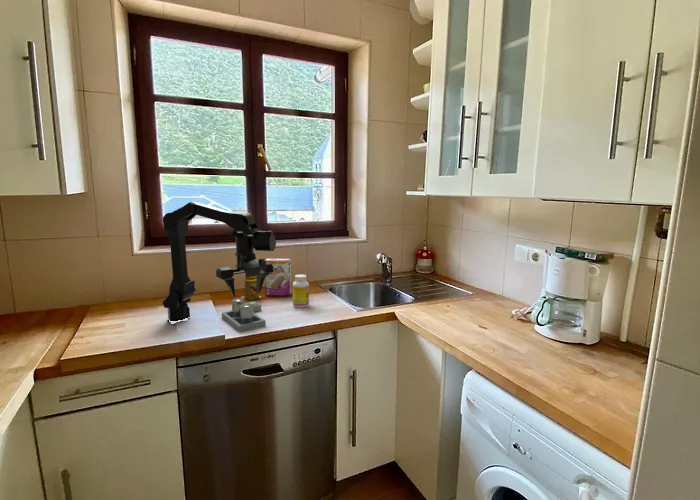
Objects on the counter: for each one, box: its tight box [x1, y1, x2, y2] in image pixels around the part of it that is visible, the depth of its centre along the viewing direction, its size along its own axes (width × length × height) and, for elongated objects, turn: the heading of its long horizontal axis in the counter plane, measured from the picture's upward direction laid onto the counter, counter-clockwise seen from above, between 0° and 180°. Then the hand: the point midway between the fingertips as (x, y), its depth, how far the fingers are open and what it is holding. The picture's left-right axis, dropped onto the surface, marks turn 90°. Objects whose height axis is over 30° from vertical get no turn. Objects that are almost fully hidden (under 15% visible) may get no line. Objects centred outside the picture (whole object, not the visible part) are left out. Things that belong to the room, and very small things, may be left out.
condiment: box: [241, 273, 262, 301], centre depth 165 cm, size 7×8×12 cm
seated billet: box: [231, 297, 246, 318], centre depth 140 cm, size 4×4×7 cm
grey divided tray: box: [221, 310, 267, 333], centre depth 137 cm, size 10×17×3 cm, turn 38°
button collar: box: [245, 301, 262, 313], centre depth 150 cm, size 5×5×3 cm
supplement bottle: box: [292, 273, 310, 309], centre depth 157 cm, size 7×7×13 cm
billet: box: [240, 304, 255, 325], centre depth 134 cm, size 4×4×7 cm
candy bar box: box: [264, 258, 292, 297], centre depth 172 cm, size 11×5×16 cm, turn 94°
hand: (246, 294), depth 132 cm, fingers open, 9 cm apart
